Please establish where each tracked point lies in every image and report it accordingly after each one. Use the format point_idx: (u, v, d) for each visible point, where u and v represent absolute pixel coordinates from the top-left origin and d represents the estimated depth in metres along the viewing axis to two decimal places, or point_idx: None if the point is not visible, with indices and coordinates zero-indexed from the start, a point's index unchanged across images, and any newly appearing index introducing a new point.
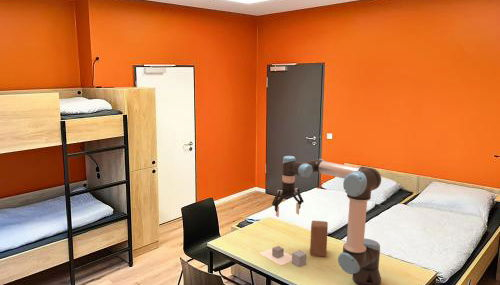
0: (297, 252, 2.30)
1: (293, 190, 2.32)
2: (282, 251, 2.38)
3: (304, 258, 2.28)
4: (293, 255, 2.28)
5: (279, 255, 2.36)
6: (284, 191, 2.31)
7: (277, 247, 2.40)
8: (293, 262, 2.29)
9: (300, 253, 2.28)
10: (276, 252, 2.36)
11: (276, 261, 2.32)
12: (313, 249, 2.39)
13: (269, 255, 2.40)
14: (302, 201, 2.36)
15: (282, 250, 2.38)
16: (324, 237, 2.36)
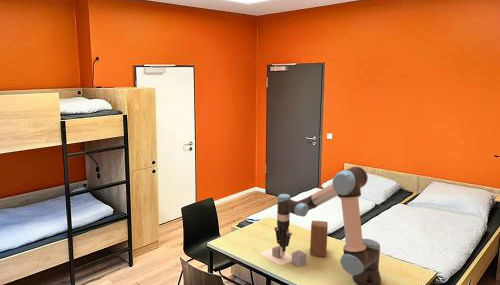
0: (297, 252, 2.30)
1: (285, 230, 2.30)
2: None
3: (304, 258, 2.28)
4: (293, 255, 2.28)
5: (279, 255, 2.36)
6: (278, 227, 2.34)
7: (277, 247, 2.40)
8: (293, 262, 2.29)
9: (300, 253, 2.28)
10: (276, 252, 2.36)
11: (276, 261, 2.32)
12: (313, 249, 2.39)
13: (269, 255, 2.40)
14: (284, 245, 2.31)
15: None
16: (324, 237, 2.36)
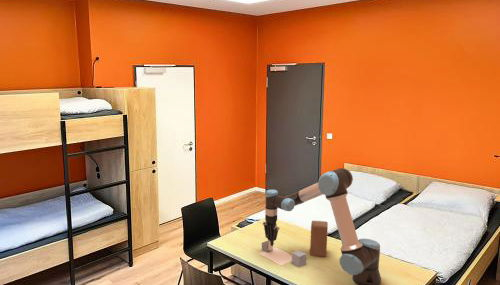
0: (297, 252, 2.30)
1: (273, 224, 2.38)
2: None
3: (304, 258, 2.28)
4: (293, 255, 2.28)
5: None
6: (266, 221, 2.42)
7: (266, 242, 2.47)
8: (293, 262, 2.29)
9: (300, 253, 2.28)
10: (265, 246, 2.43)
11: (276, 261, 2.32)
12: (313, 249, 2.39)
13: (269, 255, 2.40)
14: (272, 239, 2.39)
15: None
16: (324, 237, 2.36)
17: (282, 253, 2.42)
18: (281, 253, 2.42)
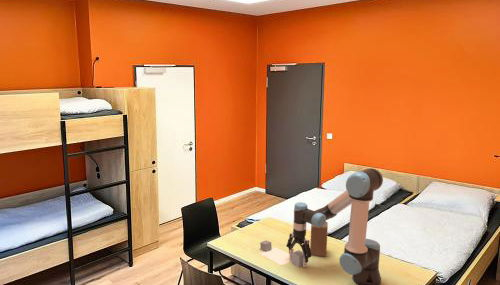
0: (297, 252, 2.30)
1: (301, 239, 2.24)
2: (270, 245, 2.46)
3: None
4: (293, 255, 2.28)
5: (267, 248, 2.45)
6: (294, 236, 2.29)
7: (265, 241, 2.48)
8: (293, 262, 2.29)
9: (300, 253, 2.28)
10: (264, 245, 2.44)
11: (276, 261, 2.32)
12: (313, 249, 2.39)
13: (269, 255, 2.40)
14: (307, 256, 2.22)
15: (270, 244, 2.46)
16: (324, 237, 2.36)
17: (282, 253, 2.42)
18: (281, 253, 2.42)
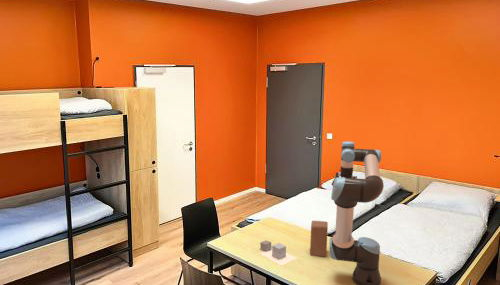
0: (277, 245, 2.38)
1: (349, 176, 2.35)
2: (270, 245, 2.46)
3: (284, 250, 2.36)
4: (273, 247, 2.37)
5: (267, 248, 2.45)
6: (341, 174, 2.39)
7: (265, 241, 2.48)
8: (273, 254, 2.38)
9: (280, 246, 2.37)
10: (264, 245, 2.44)
11: (276, 261, 2.32)
12: (313, 249, 2.39)
13: (269, 255, 2.40)
14: None
15: (270, 244, 2.46)
16: (324, 237, 2.36)
17: None
18: None
